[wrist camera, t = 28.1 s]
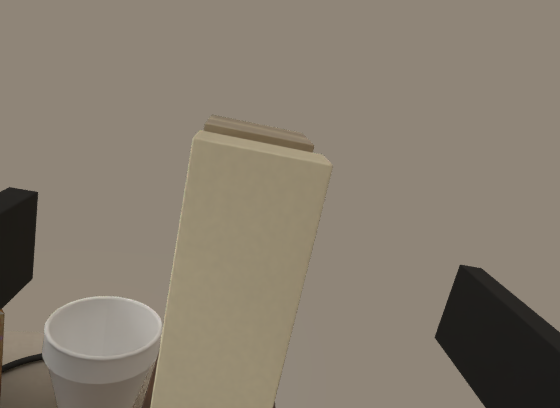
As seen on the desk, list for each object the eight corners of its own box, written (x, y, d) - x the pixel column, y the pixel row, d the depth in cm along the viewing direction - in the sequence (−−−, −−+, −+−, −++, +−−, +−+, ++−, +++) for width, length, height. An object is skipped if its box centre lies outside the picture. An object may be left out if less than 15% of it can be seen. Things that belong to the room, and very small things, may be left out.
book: (158, 381, 24) (198, 129, 20) (265, 395, 25) (323, 154, 21) (148, 416, 22) (192, 137, 18) (267, 429, 22) (333, 164, 19)
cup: (25, 474, 44) (32, 360, 41) (45, 389, 55) (53, 293, 52) (150, 461, 49) (167, 357, 45) (146, 385, 60) (160, 296, 56)
